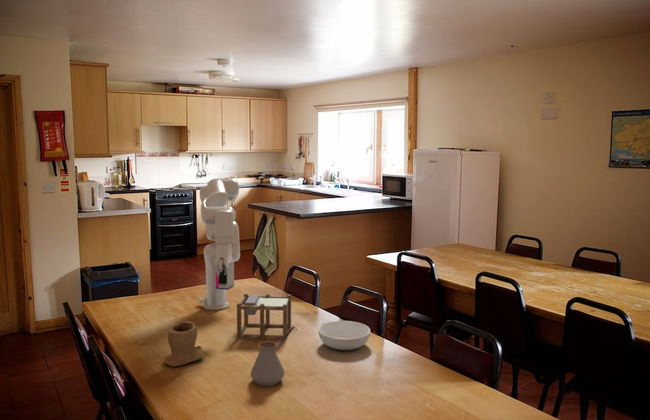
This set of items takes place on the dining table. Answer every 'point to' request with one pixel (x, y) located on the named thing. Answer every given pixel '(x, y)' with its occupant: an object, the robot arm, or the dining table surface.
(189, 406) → the dining table surface
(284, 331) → the stand
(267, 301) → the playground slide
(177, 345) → the stone cup
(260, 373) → the coffee pot
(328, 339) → the serving bowl
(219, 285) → the supplement box
